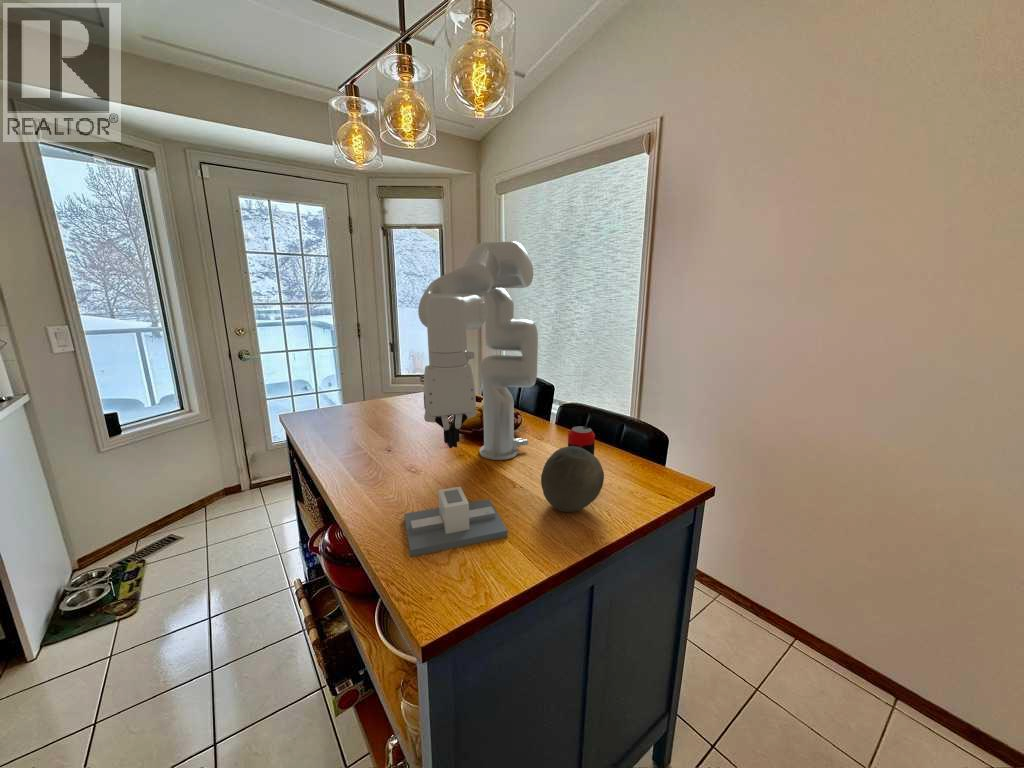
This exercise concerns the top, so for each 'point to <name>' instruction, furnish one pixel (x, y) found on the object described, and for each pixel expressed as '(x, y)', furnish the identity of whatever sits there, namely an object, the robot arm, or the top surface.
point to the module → (454, 509)
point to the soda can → (582, 438)
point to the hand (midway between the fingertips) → (452, 445)
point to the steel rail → (438, 521)
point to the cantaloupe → (571, 479)
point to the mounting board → (442, 541)
